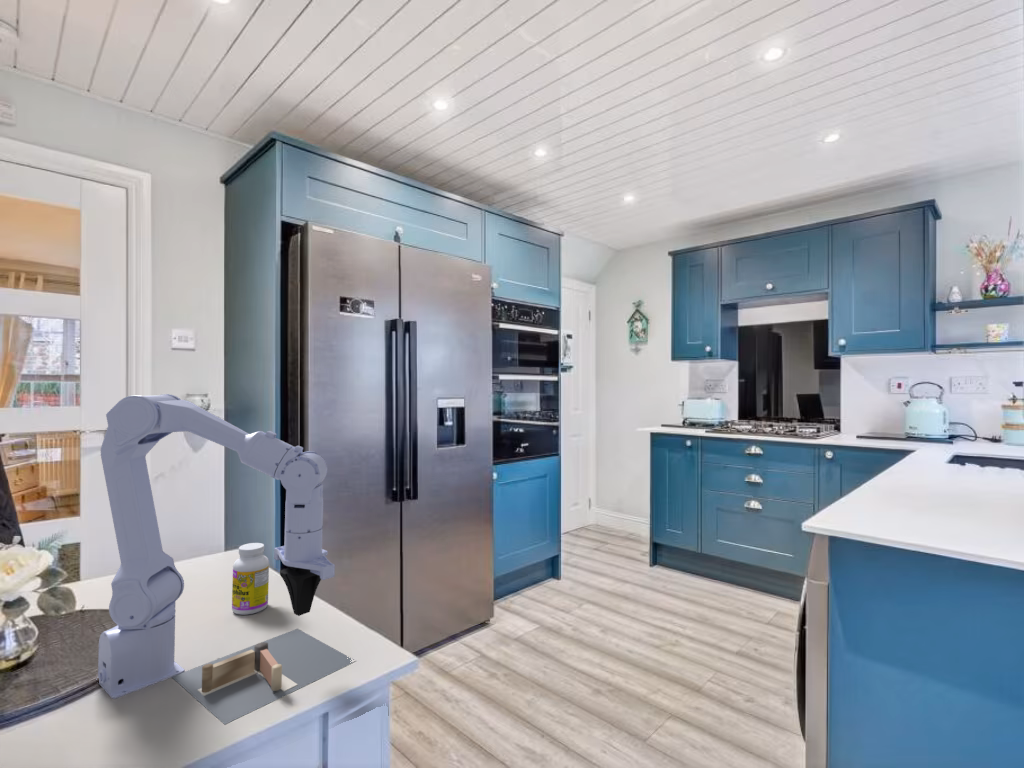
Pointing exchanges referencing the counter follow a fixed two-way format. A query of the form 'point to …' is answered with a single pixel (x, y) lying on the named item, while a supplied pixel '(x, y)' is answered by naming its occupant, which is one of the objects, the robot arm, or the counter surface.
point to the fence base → (231, 668)
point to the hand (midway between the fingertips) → (301, 612)
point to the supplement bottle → (250, 580)
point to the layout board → (250, 692)
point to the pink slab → (271, 670)
